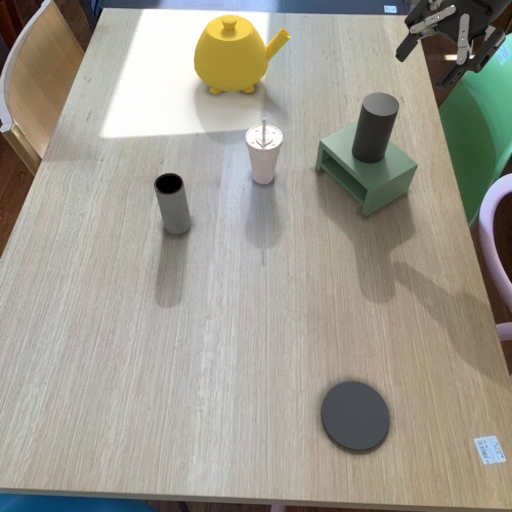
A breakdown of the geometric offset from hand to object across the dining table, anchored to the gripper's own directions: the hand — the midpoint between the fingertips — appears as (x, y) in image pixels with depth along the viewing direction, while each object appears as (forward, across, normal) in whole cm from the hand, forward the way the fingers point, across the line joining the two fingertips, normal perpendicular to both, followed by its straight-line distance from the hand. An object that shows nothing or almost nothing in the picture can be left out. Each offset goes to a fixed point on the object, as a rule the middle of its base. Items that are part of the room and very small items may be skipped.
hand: (417, 73), depth 73 cm
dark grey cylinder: (+14, 0, -4) cm, 14 cm away
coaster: (+39, -32, +11) cm, 51 cm away
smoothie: (+29, +11, +1) cm, 31 cm away
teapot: (+20, +37, -8) cm, 43 cm away
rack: (+19, 0, -9) cm, 21 cm away
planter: (+42, +10, +14) cm, 45 cm away
